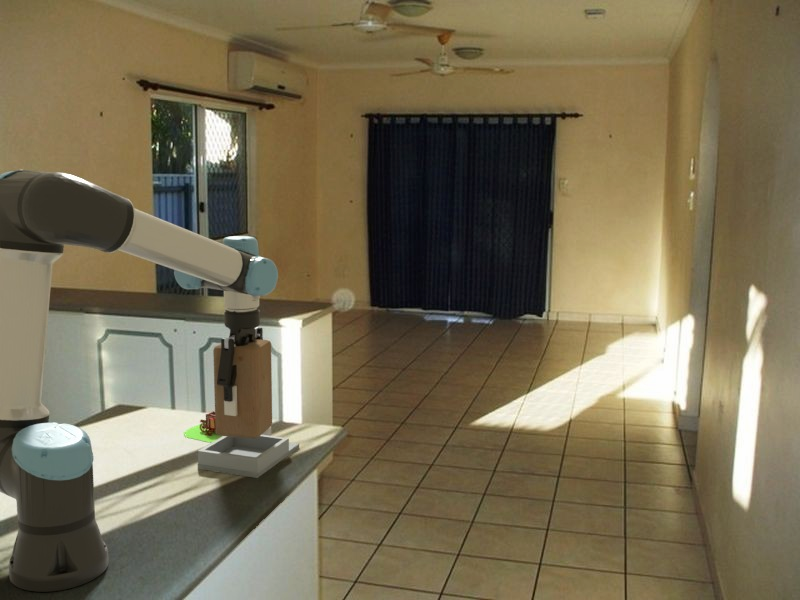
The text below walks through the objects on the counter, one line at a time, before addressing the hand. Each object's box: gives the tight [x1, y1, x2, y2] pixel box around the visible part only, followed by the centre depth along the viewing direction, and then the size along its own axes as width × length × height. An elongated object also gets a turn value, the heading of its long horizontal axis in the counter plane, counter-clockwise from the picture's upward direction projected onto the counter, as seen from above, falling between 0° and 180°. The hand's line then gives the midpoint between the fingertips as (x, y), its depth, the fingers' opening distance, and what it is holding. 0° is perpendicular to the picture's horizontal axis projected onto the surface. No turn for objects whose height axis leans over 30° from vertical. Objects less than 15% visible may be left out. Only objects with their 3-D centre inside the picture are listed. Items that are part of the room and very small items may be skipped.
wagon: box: [183, 410, 222, 444], centre depth 211 cm, size 15×15×6 cm
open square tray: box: [197, 425, 300, 479], centre depth 193 cm, size 20×14×5 cm
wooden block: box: [213, 339, 273, 439], centre depth 188 cm, size 10×10×20 cm
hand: (244, 407), depth 189 cm, fingers closed on wooden block, 10 cm apart
